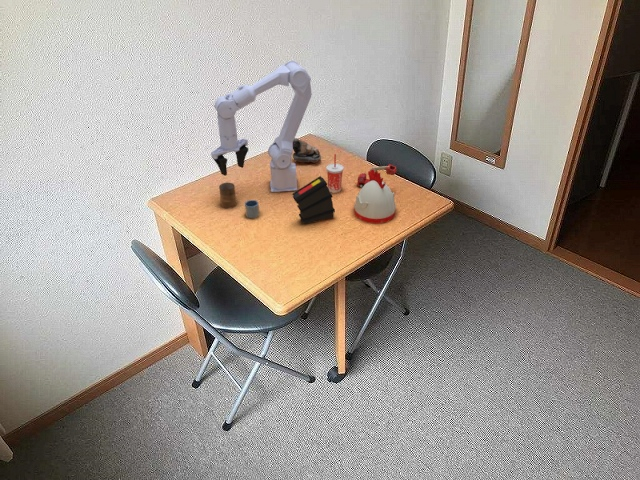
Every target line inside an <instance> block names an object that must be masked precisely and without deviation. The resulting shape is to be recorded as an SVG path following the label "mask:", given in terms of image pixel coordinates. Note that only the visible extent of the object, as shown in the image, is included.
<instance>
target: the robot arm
mask: <svg viewBox="0 0 640 480" xmlns="http://www.w3.org/2000/svg"><path fill="white" fill-rule="evenodd" d="M311 81H312V78H311V76H310V75H309V73H308V71H307V70H306V69H305V68H303V67H302V66H301V65H300V64H299V63H298V62H297V61H295V60H289V61H287V62H285V63H284V64H281V65H279V66H278V67H277V68H276V69H274V70H273V71H272V72H270V73H269V74H267V75H265V76H264V77H263V78H261V79H259V80H258V81H256V82H254V83H253V84H252V85H249V84H244V85H243V84H240V85H238V86H237V87H238V88H237V89H235V90H233V91H232V92H230V93H228V92H227V93H225V95H224V96H223V95H222V96H219V97H217V98H216V99H215V102H214V105H213V106H214V109H215V111H216V114H217V117H216V118H217V126H218V134H219V140H220V141H219V142H220V145H219V147H217V148H216V149H215V150H213V151H211V152H210V155H211V159H212V160H213V161H214V162H215V164H216V165H217V167H218V169H219V172H220V174H221V175H223V176H224V177H225V176H226V177H227V176H228V170H227V169H228V168H227V162H228V158H226V157H225V156H224V155H227V154H230V153H233V152H234V153H235V156H236V164H237V166H238V167H239V168H241V169H243V168H244V167H245V160H246V156H247V154H248V152H249V147H247V146H248V145H249V141H248V139H246V138H241V139H238V132H237V121H236V117H235V116H236V114H237V111H240V110H241V109H243V108H245V107H247V106H248V105H250V104H251V103H254V102H255V101H256V98H257V96H258V95H260V94H262V93H264V92H266V91H268V90H270V89H272V88H274V87H276V86H279V85H280V86H285V87H290V86H291V88H292V90H293V92H294V96H293V98H292V100H291V103H290V105H289V107H288V108H289V109H288V111H287V114H286V116H285V119H284V120H283V125H282V126H281V130H280V131H279V134H278V136H277V137H275V138H274V140H273V142H272V143H271V145H269V147H268V149H267V154H268V156H269V157H270V159H271V160H270V163H269V166H270V167H269V168H270V181H269V185H270V192H271V193H279V192H280V193H281V192H291V191H292V192H293V191H294V192H296V191H297V190H298V175H297V164H296V163H295V162H292V161H293V153H294V150H293V141H294V138H296V136H297V134H298V130H299V128H300V126H301V123H302V121H303V118H304V116H305V113H306V111H307V108H308V106H309V103H310V101H311V99H312V95H313V93H312V86H311Z"/></svg>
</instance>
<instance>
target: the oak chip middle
mask: <svg viewBox="0 0 640 480" xmlns="http://www.w3.org/2000/svg"><path fill="white" fill-rule="evenodd" d="M219 198H220V202H221V201H223V202H232V201H234V200H235V199H236V200H237V196H236V192H235V193H234V194H233V195H231V196H222V195H221V194H220V193H219Z"/></svg>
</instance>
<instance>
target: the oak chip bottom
mask: <svg viewBox="0 0 640 480" xmlns="http://www.w3.org/2000/svg"><path fill="white" fill-rule="evenodd" d="M220 204H221V207H222V208H223V209H233V208H234V207H236V206H237V198H236V199H235V200H234V201H232V202H223V201H221V200H220Z"/></svg>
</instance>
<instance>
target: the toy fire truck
mask: <svg viewBox="0 0 640 480" xmlns="http://www.w3.org/2000/svg"><path fill="white" fill-rule="evenodd" d="M373 169H374V173H375V172H376V171H377V174H378V173H379V171H385V173H386V175H388V176H395V174H396V173H397V166H395V165H392V164H388V165H383V166H371V168H370V169H369V171H371V170H373ZM381 178H382V176H380V179H381ZM369 181H370V179H369V178H367V173H365V172H363V173H360V174H359V175H358V177H357V184H356V185H357V187H359V188H360V189H362V187H363V186H364V185H365V184H366V183H368V182H369ZM383 182H384V183H386V181H383Z"/></svg>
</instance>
